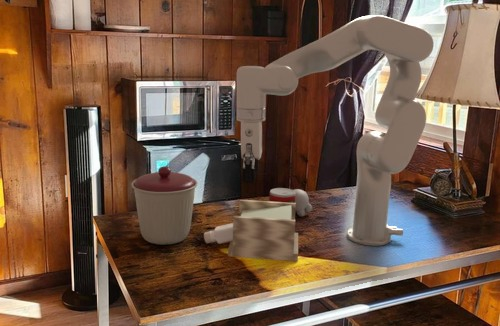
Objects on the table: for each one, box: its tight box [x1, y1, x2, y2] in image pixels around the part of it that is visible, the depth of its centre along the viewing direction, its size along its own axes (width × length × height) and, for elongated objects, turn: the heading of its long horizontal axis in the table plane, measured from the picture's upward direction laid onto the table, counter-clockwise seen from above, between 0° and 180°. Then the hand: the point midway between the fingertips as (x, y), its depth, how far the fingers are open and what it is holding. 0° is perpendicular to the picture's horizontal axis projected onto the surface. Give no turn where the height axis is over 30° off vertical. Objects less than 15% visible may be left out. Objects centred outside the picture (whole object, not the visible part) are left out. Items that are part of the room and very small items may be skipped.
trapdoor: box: [241, 205, 292, 220], centre depth 135 cm, size 14×12×2 cm
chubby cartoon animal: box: [293, 188, 313, 218], centre depth 162 cm, size 7×12×8 cm, turn 118°
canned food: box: [268, 187, 296, 203], centre depth 152 cm, size 8×8×11 cm
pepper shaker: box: [203, 222, 233, 245], centre depth 137 cm, size 4×4×10 cm
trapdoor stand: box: [227, 199, 299, 262], centre depth 135 cm, size 18×15×11 cm
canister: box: [130, 165, 199, 246], centre depth 138 cm, size 18×18×21 cm
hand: (250, 177), depth 132 cm, fingers open, 9 cm apart
